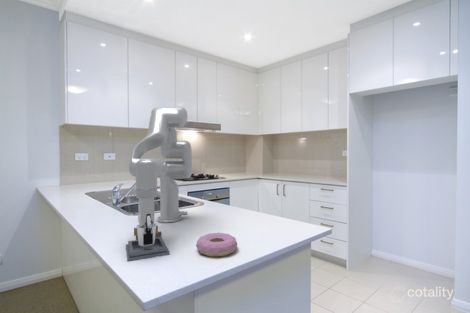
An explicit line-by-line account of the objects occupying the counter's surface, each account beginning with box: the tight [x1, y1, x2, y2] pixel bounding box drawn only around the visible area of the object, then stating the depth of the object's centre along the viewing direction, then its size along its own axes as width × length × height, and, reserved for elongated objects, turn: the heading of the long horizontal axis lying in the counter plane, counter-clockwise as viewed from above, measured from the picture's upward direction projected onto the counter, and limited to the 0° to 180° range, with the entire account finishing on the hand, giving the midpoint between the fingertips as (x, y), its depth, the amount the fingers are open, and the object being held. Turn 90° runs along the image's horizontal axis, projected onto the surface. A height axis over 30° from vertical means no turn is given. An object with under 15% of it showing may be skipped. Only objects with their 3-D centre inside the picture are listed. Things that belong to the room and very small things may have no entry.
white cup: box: [136, 222, 157, 246], centre depth 97 cm, size 7×7×7 cm
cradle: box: [125, 236, 171, 262], centre depth 97 cm, size 14×14×2 cm
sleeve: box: [133, 224, 162, 240], centre depth 113 cm, size 10×11×3 cm
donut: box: [195, 232, 238, 258], centre depth 98 cm, size 16×15×5 cm
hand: (147, 240), depth 97 cm, fingers closed on white cup, 6 cm apart
